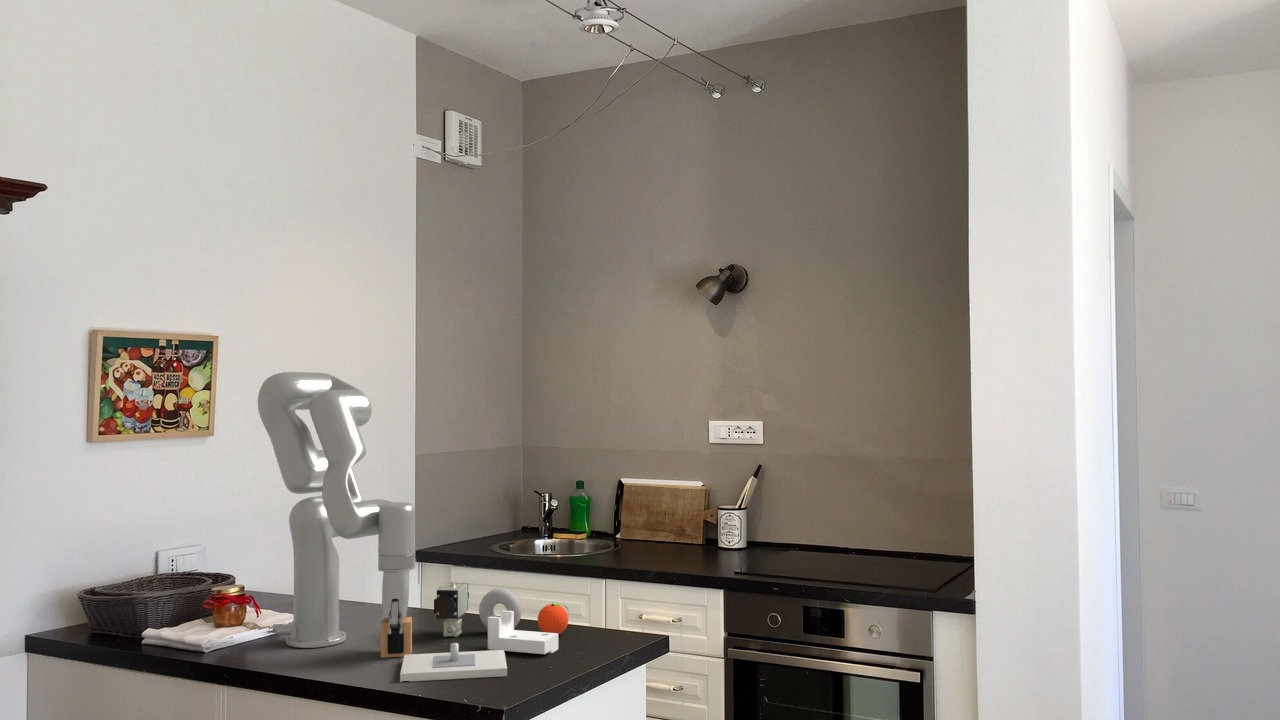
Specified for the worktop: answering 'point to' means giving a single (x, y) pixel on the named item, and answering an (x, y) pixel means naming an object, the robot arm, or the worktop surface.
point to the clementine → (553, 618)
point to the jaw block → (407, 637)
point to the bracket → (518, 637)
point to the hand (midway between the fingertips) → (396, 648)
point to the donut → (495, 598)
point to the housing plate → (453, 665)
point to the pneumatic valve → (451, 606)
